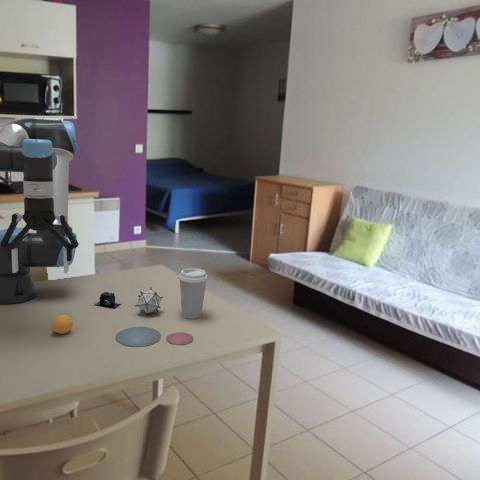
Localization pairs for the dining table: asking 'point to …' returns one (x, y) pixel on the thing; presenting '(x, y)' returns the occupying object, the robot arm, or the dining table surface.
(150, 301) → the game die
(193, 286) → the coffee cup
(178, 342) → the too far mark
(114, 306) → the black boxy piece
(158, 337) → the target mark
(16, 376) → the dining table surface
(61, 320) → the ball
